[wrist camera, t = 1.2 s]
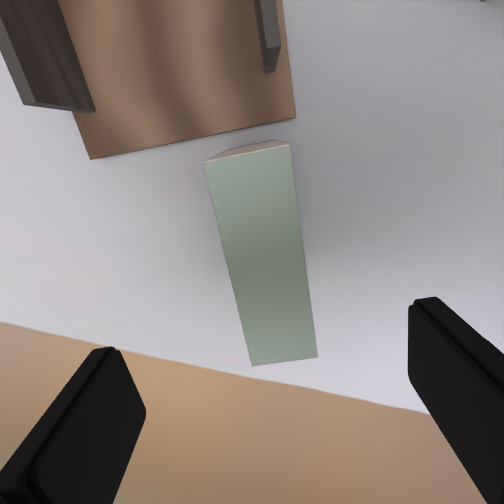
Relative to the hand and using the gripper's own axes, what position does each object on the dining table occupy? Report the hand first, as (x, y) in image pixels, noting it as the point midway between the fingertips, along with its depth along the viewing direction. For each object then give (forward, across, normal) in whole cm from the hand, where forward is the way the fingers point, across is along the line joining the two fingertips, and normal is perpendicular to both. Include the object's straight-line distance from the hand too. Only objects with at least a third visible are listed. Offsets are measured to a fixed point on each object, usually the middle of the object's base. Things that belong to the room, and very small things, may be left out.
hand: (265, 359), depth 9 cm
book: (+20, 0, 0) cm, 20 cm away
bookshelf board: (+20, +4, -16) cm, 26 cm away
